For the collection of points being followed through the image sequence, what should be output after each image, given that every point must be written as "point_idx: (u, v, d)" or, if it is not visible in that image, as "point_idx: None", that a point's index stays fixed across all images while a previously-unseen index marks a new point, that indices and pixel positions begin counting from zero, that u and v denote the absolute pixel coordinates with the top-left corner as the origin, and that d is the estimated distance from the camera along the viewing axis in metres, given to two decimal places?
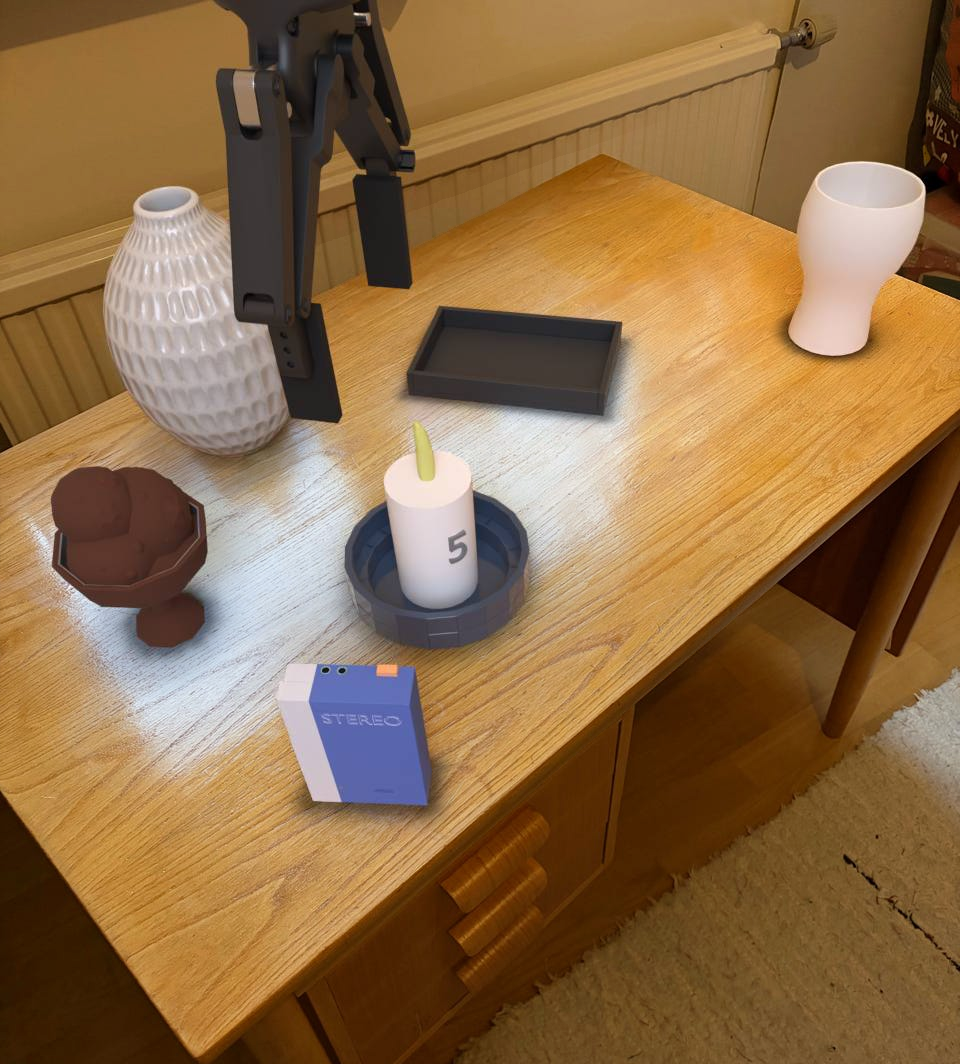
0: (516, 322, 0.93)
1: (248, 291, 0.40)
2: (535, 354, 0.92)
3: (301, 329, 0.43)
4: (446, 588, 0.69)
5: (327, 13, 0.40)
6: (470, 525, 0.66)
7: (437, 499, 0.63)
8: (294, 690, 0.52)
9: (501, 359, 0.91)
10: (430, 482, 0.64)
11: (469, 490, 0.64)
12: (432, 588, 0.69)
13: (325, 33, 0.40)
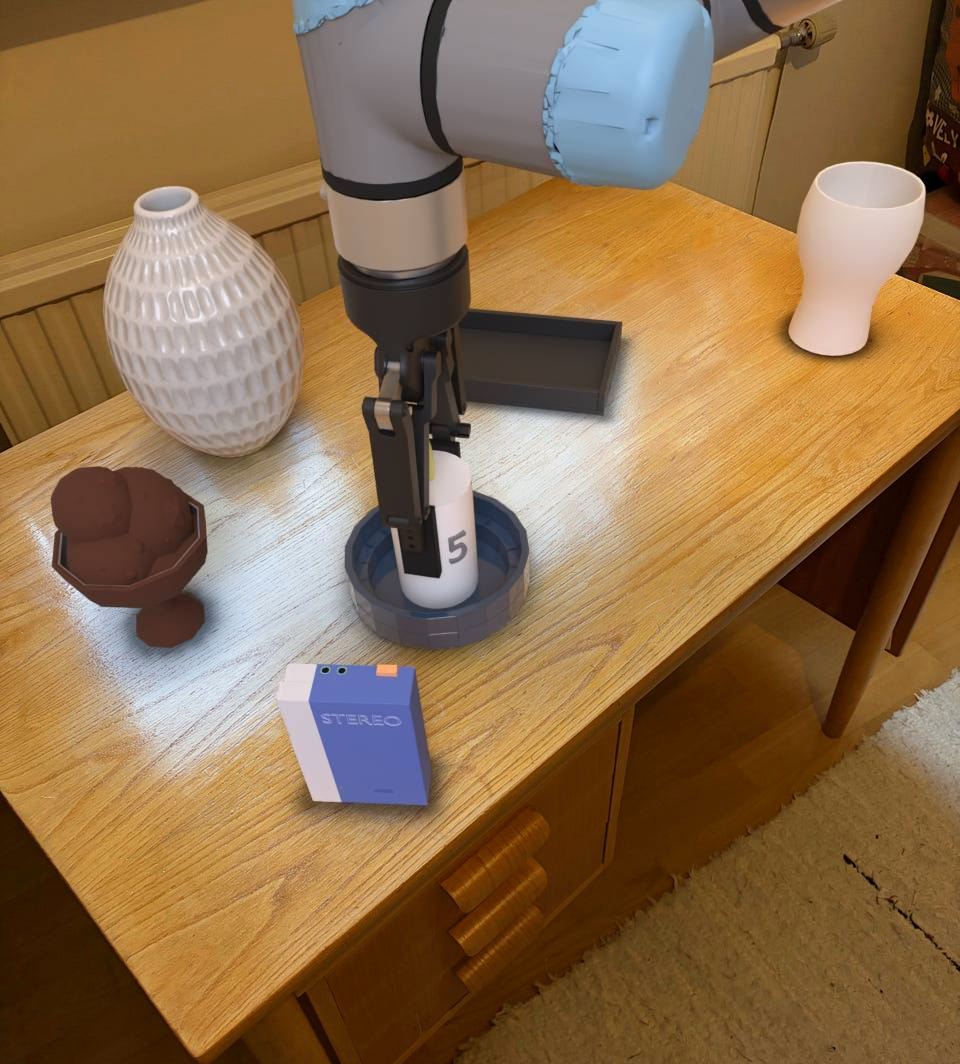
0: (516, 322, 0.93)
1: (390, 514, 0.58)
2: (535, 354, 0.92)
3: (421, 524, 0.62)
4: (447, 588, 0.69)
5: None
6: (470, 525, 0.66)
7: (437, 500, 0.63)
8: (294, 690, 0.52)
9: (501, 359, 0.91)
10: (430, 482, 0.64)
11: (469, 490, 0.64)
12: (432, 588, 0.69)
13: None
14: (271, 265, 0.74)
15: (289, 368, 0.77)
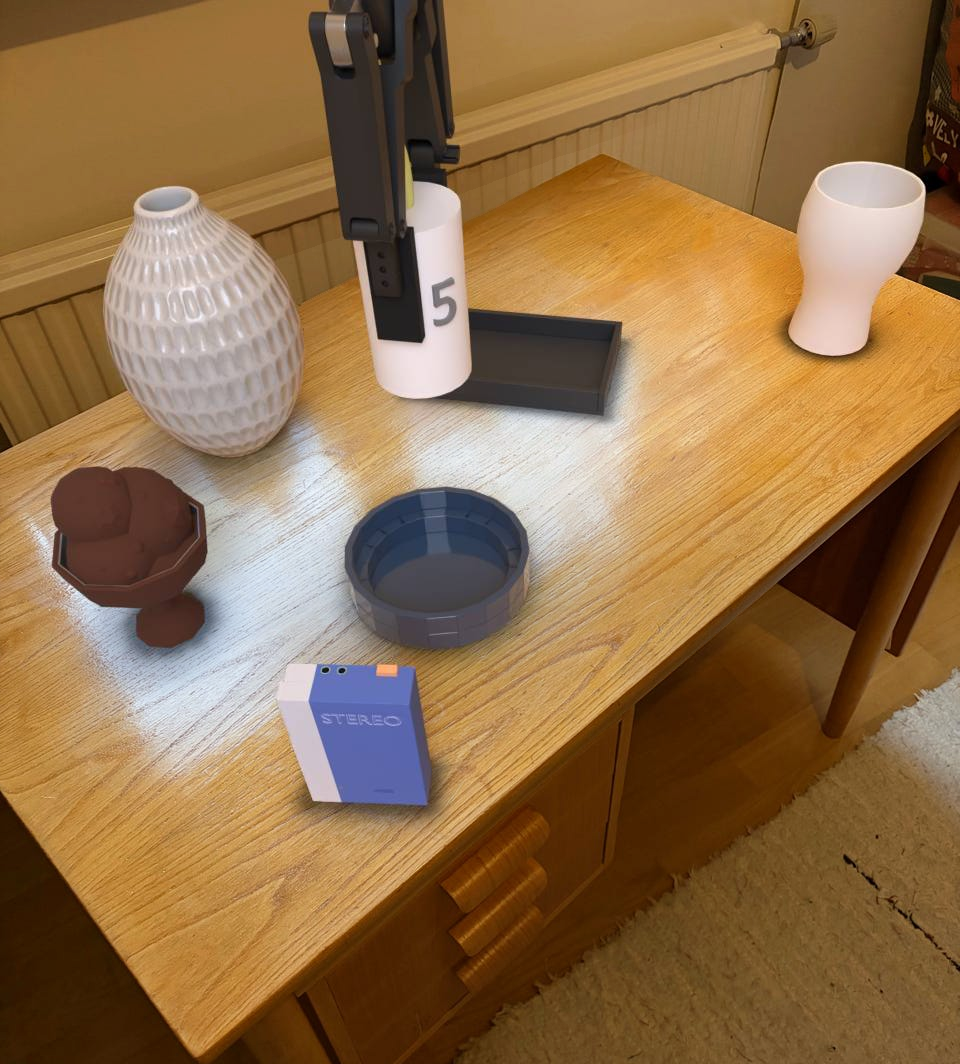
0: (516, 322, 0.93)
1: (354, 216, 0.45)
2: (535, 354, 0.92)
3: (396, 249, 0.48)
4: (432, 367, 0.55)
5: None
6: (460, 275, 0.53)
7: (416, 226, 0.49)
8: (294, 690, 0.52)
9: (501, 359, 0.91)
10: (408, 210, 0.50)
11: (457, 219, 0.50)
12: (414, 365, 0.55)
13: None
14: (271, 265, 0.74)
15: (289, 368, 0.77)
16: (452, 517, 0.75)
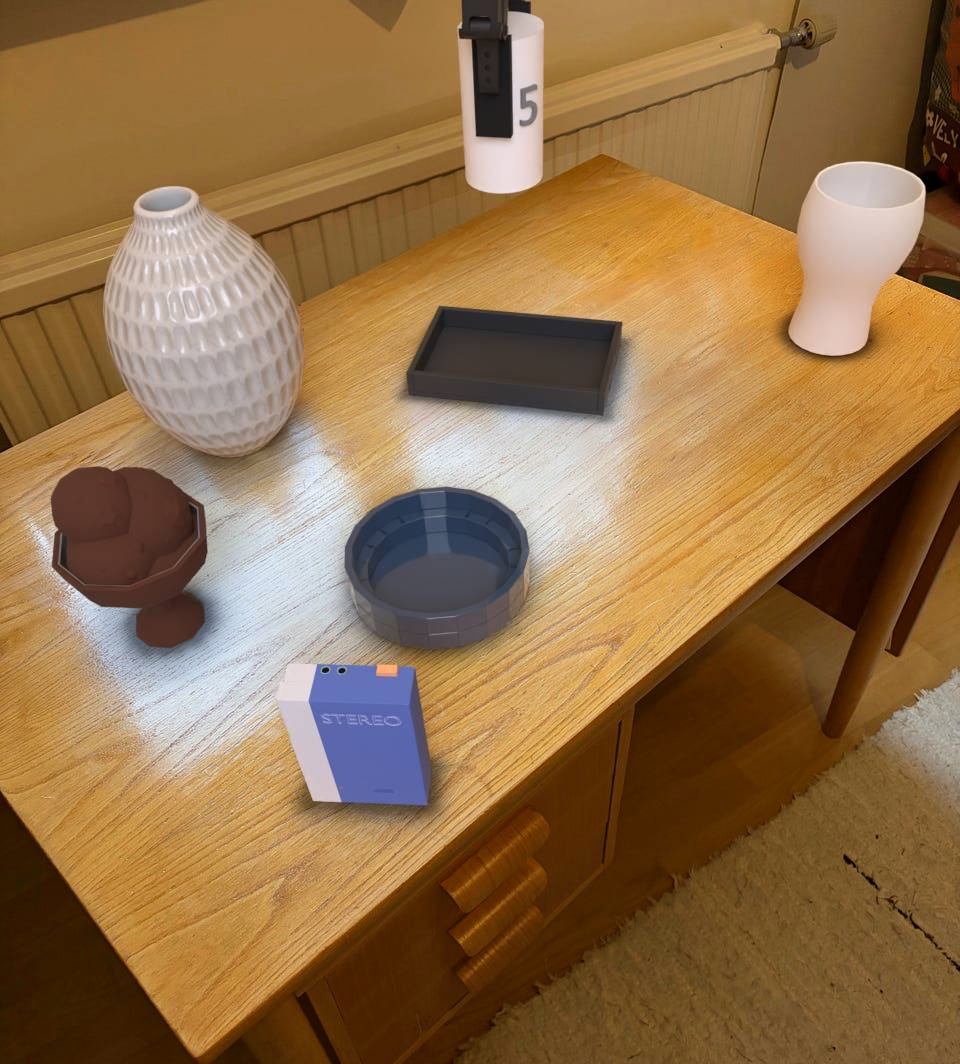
0: (516, 322, 0.93)
1: (472, 15, 0.59)
2: (535, 354, 0.92)
3: (498, 51, 0.63)
4: (515, 164, 0.70)
5: None
6: (540, 84, 0.67)
7: None
8: (294, 690, 0.52)
9: (501, 359, 0.91)
10: None
11: (542, 35, 0.65)
12: (501, 162, 0.70)
13: None
14: (271, 265, 0.74)
15: (289, 368, 0.77)
16: (452, 517, 0.75)
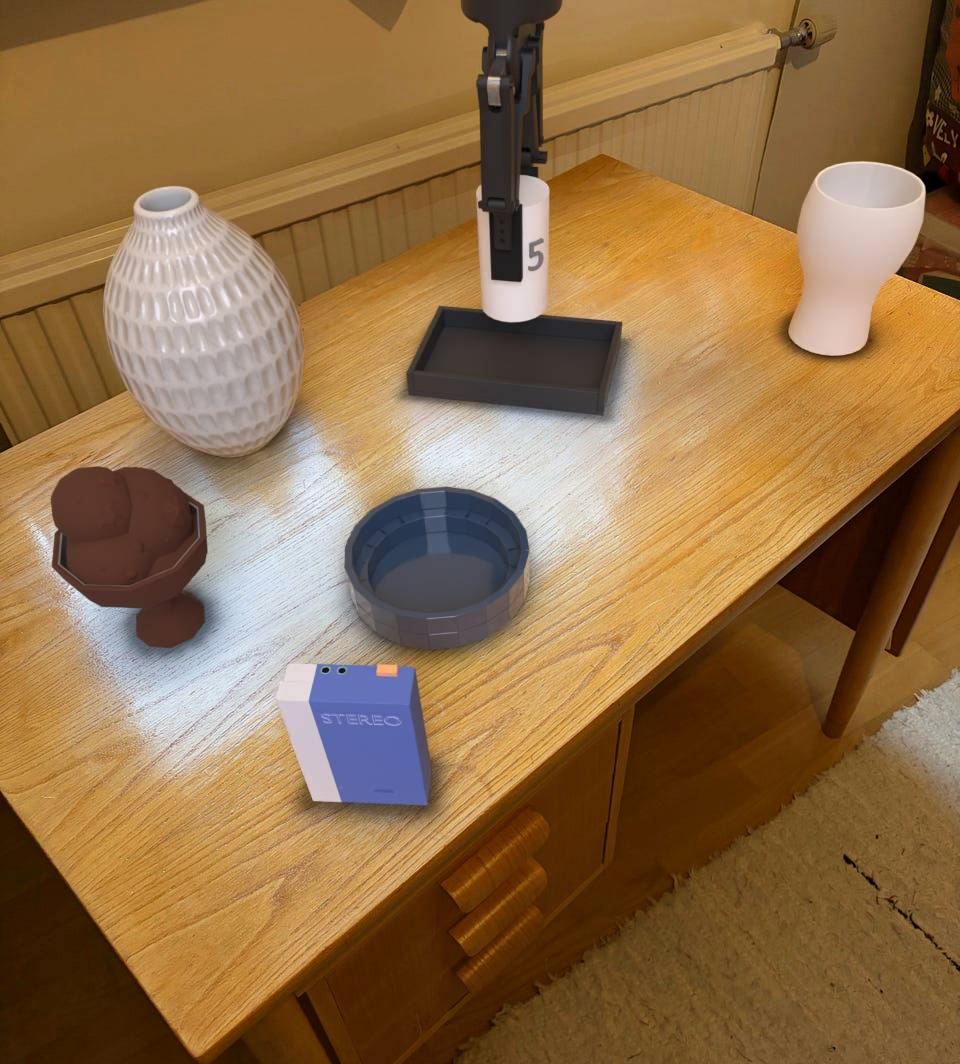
0: (516, 322, 0.93)
1: (490, 196, 0.72)
2: (535, 354, 0.92)
3: (511, 218, 0.75)
4: (524, 299, 0.82)
5: (527, 24, 0.68)
6: (546, 237, 0.80)
7: (522, 203, 0.76)
8: (294, 690, 0.52)
9: (501, 359, 0.91)
10: None
11: (547, 199, 0.77)
12: (512, 298, 0.82)
13: (525, 35, 0.68)
14: (271, 265, 0.74)
15: (289, 368, 0.77)
16: (452, 517, 0.75)
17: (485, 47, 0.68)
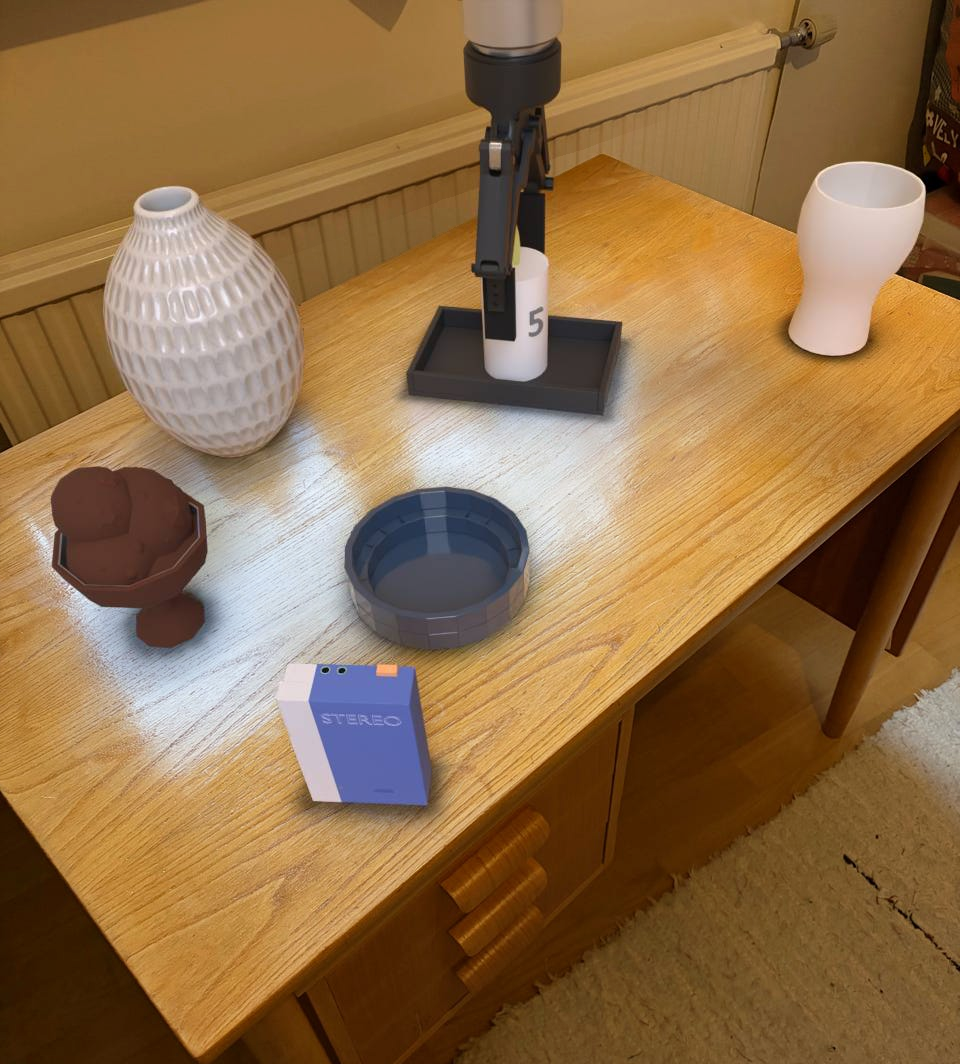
0: None
1: (484, 259, 0.73)
2: None
3: (504, 282, 0.76)
4: (525, 362, 0.87)
5: None
6: (546, 305, 0.85)
7: (523, 276, 0.81)
8: (294, 690, 0.52)
9: None
10: (516, 265, 0.82)
11: (547, 272, 0.82)
12: (514, 361, 0.87)
13: (526, 116, 0.73)
14: (271, 265, 0.74)
15: (289, 368, 0.77)
16: (452, 517, 0.75)
17: (489, 126, 0.73)
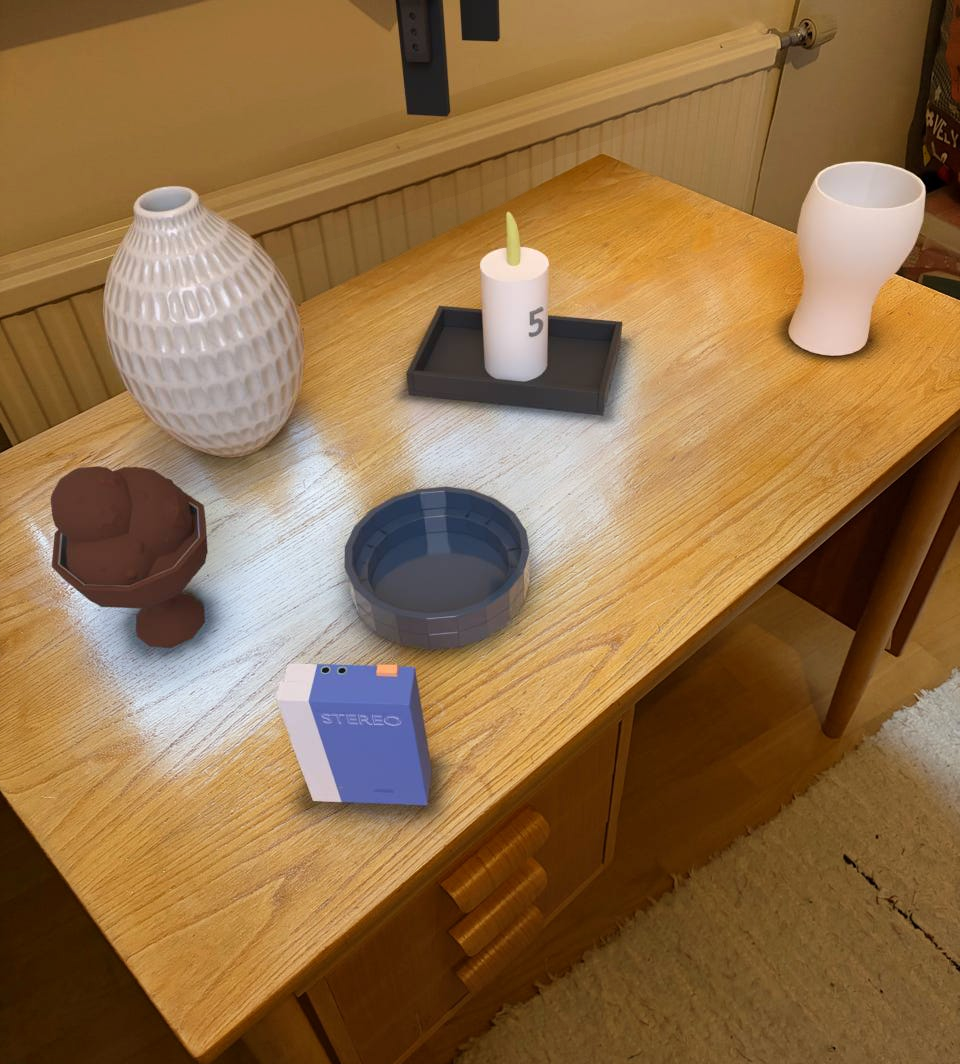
0: None
1: None
2: None
3: (426, 11, 0.53)
4: (525, 362, 0.87)
5: None
6: (546, 305, 0.85)
7: (523, 276, 0.81)
8: (294, 690, 0.52)
9: None
10: (516, 266, 0.82)
11: (547, 272, 0.82)
12: (514, 361, 0.87)
13: None
14: (271, 265, 0.74)
15: (289, 368, 0.77)
16: (452, 517, 0.75)
17: None
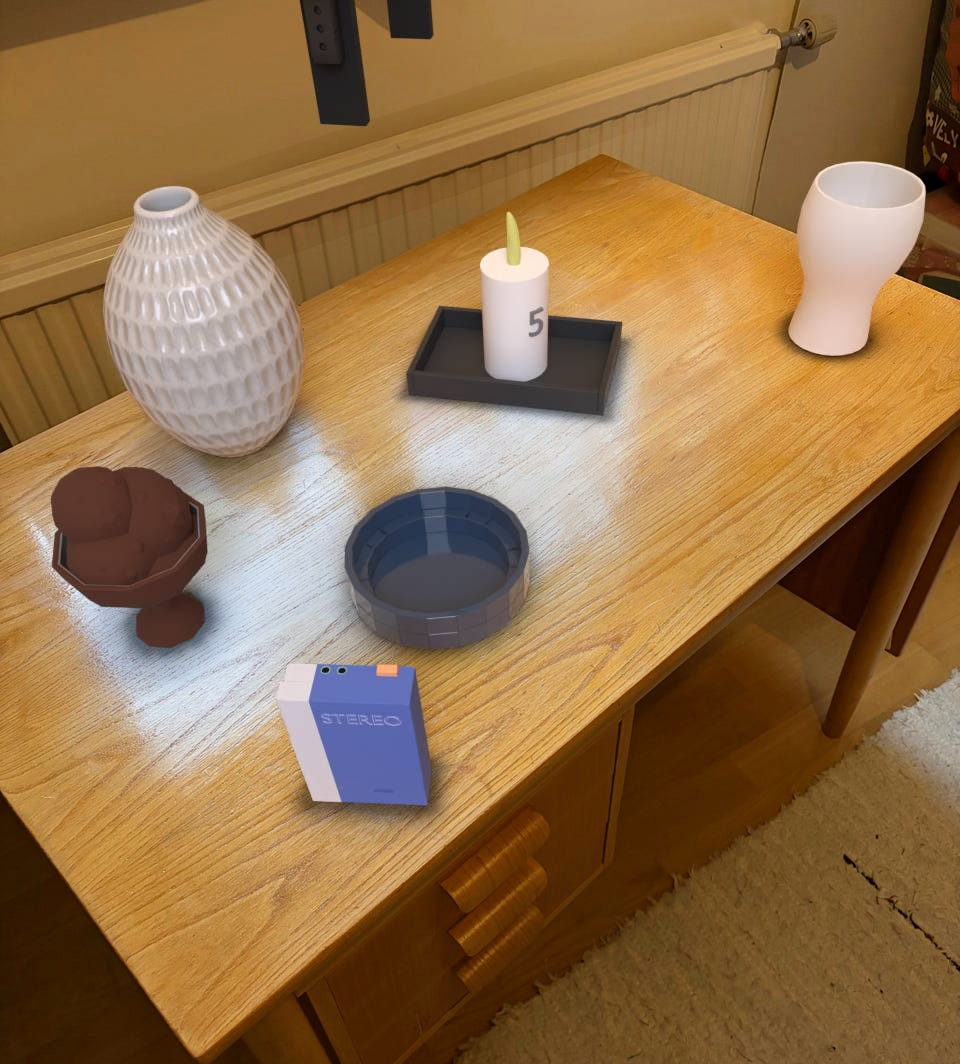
0: None
1: None
2: None
3: (333, 5, 0.46)
4: (525, 362, 0.87)
5: None
6: (546, 305, 0.85)
7: (523, 276, 0.81)
8: (294, 690, 0.52)
9: None
10: (517, 266, 0.82)
11: (547, 272, 0.82)
12: (514, 361, 0.87)
13: None
14: (271, 265, 0.74)
15: (289, 368, 0.77)
16: (452, 517, 0.75)
17: None
